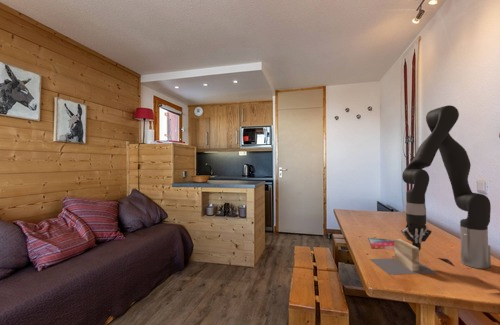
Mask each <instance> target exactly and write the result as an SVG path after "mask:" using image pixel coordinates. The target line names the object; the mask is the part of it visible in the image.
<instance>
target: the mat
mask: <svg viewBox="0 0 500 325" xmlns="http://www.w3.org/2000/svg"><path fill="white" fill-rule="evenodd" d="M369 261H371V262H372V263H373V264H374V265H376V266H377V267H379V269H381V270H382V271H383V272H385V273H386V274H387V275H393V276H394V275H420V274H421V275H422V274H424V275H425V274H427V275H428V274H438V272H436V271H435V270H434V269H432V268H430V267H429V266H427V265H425V264H423V263H421V262H420V261H419V271H415V272H412V271H411V270H409V269H408V268H406V267H405V266H403V265H402V264H400V263H399V262H397V261H396V260H395V257H393V258H390V257H389V258H369Z"/></svg>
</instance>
